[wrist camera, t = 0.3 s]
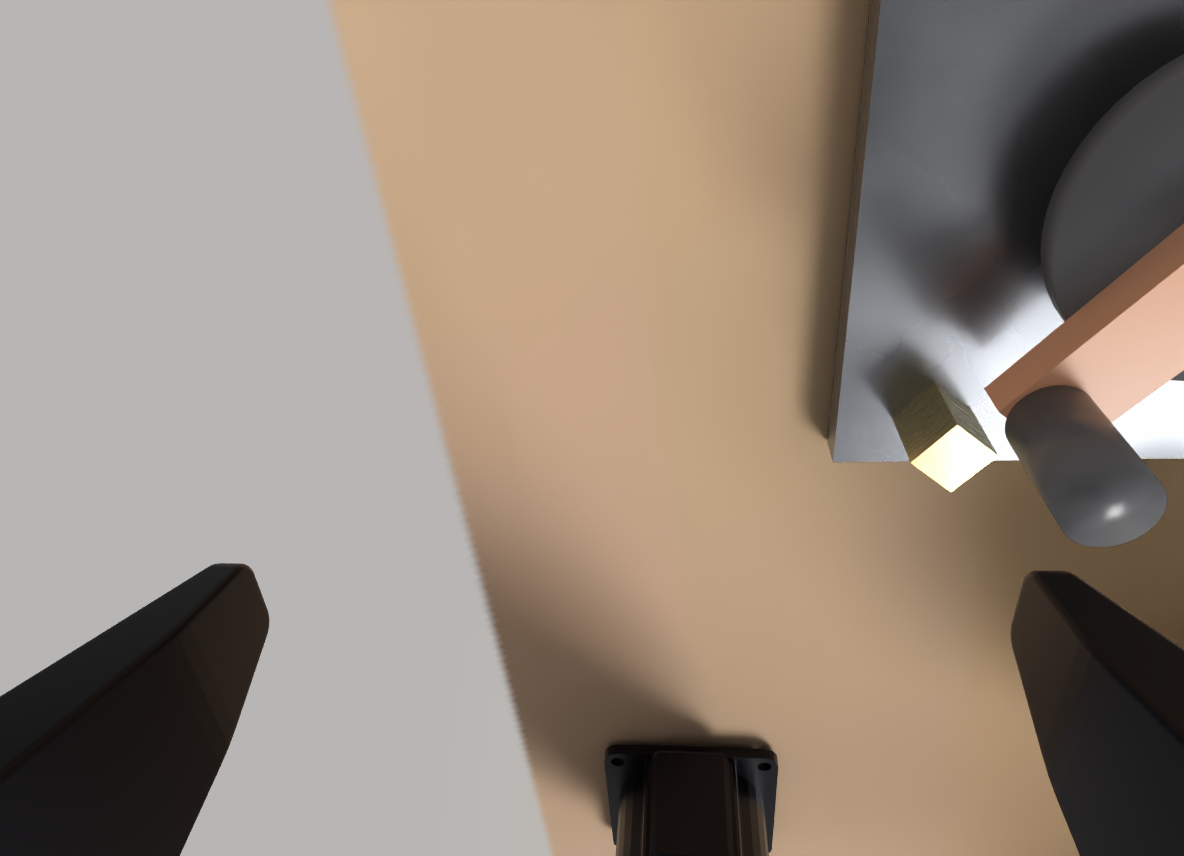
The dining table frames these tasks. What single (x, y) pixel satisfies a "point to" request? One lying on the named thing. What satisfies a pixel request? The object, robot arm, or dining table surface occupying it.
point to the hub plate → (973, 216)
